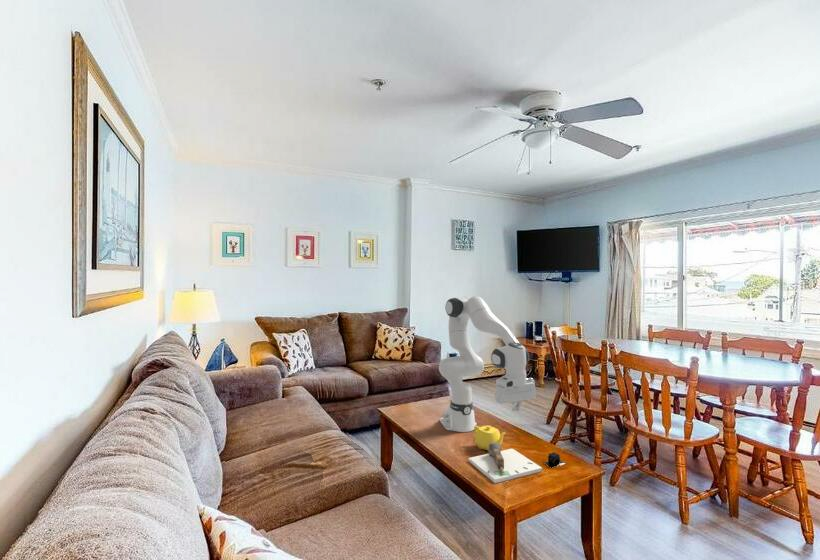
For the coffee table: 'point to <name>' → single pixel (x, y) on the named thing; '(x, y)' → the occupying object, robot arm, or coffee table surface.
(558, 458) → the black flanged block
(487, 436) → the teapot
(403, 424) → the coffee table surface
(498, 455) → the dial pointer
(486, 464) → the dial plate
